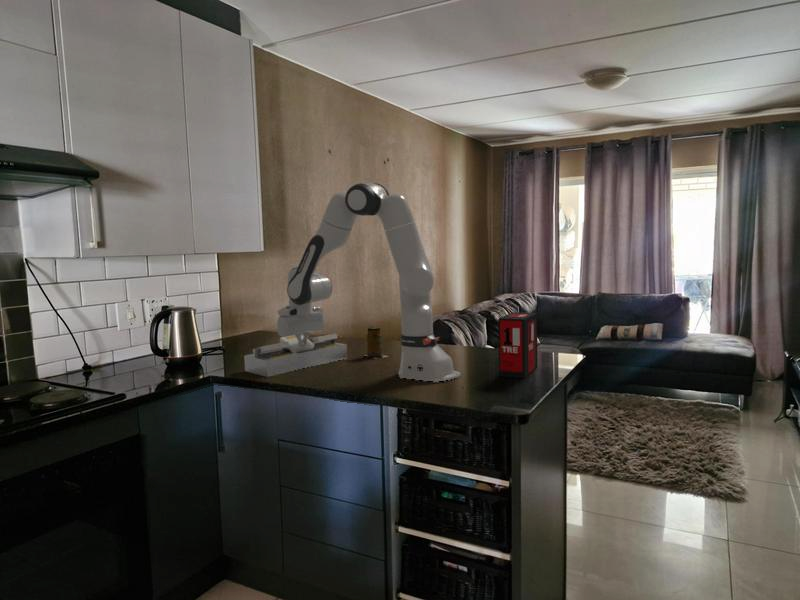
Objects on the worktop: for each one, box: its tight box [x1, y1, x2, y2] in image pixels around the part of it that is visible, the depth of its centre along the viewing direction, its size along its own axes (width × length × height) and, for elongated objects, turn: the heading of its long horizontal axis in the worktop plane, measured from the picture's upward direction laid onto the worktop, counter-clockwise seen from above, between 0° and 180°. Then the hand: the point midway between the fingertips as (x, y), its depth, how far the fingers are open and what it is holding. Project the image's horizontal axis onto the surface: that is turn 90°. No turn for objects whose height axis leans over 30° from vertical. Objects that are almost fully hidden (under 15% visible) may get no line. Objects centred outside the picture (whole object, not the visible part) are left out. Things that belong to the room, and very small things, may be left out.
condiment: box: [365, 326, 389, 360], centre depth 228 cm, size 7×8×12 cm
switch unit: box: [243, 338, 348, 378], centre depth 217 cm, size 15×38×9 cm, turn 137°
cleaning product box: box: [498, 311, 538, 379], centre depth 194 cm, size 16×9×20 cm, turn 152°
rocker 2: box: [279, 333, 315, 353], centre depth 216 cm, size 9×10×2 cm
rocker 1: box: [252, 342, 289, 354], centre depth 208 cm, size 9×10×2 cm
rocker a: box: [308, 332, 339, 343], centre depth 225 cm, size 9×10×2 cm
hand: (302, 344), depth 214 cm, fingers closed, pressing on rocker 2
